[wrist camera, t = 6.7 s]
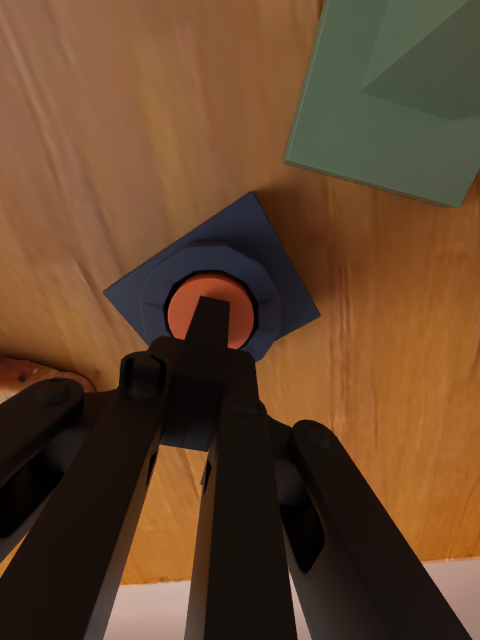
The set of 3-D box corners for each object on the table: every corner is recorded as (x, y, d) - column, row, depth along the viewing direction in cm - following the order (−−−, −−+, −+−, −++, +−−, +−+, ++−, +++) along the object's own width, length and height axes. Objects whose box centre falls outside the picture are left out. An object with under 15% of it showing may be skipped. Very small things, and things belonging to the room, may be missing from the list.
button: (225, 253, 15) (223, 260, 13) (266, 317, 16) (269, 332, 15) (158, 294, 16) (149, 306, 14) (203, 352, 17) (200, 369, 16)
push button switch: (250, 190, 16) (255, 189, 12) (310, 300, 19) (330, 329, 15) (119, 279, 18) (85, 303, 14) (191, 366, 21) (180, 408, 17)
